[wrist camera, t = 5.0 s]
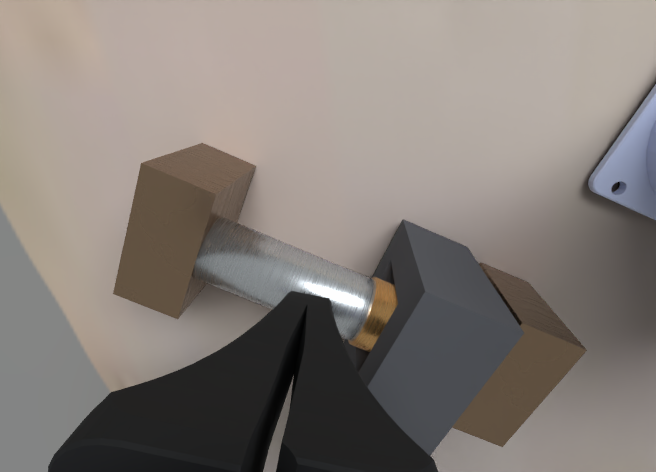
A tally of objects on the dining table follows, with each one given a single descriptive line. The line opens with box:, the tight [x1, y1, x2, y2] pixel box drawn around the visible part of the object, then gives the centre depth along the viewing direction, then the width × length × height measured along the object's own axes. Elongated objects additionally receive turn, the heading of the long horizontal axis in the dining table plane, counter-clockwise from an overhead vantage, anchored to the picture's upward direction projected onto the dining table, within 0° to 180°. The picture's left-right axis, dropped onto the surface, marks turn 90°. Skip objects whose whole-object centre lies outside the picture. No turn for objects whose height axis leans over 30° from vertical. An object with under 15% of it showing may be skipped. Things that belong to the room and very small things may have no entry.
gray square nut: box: [344, 220, 524, 456], centre depth 14 cm, size 3×6×6 cm, turn 157°
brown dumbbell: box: [113, 143, 587, 447], centre depth 15 cm, size 15×5×5 cm, turn 67°
